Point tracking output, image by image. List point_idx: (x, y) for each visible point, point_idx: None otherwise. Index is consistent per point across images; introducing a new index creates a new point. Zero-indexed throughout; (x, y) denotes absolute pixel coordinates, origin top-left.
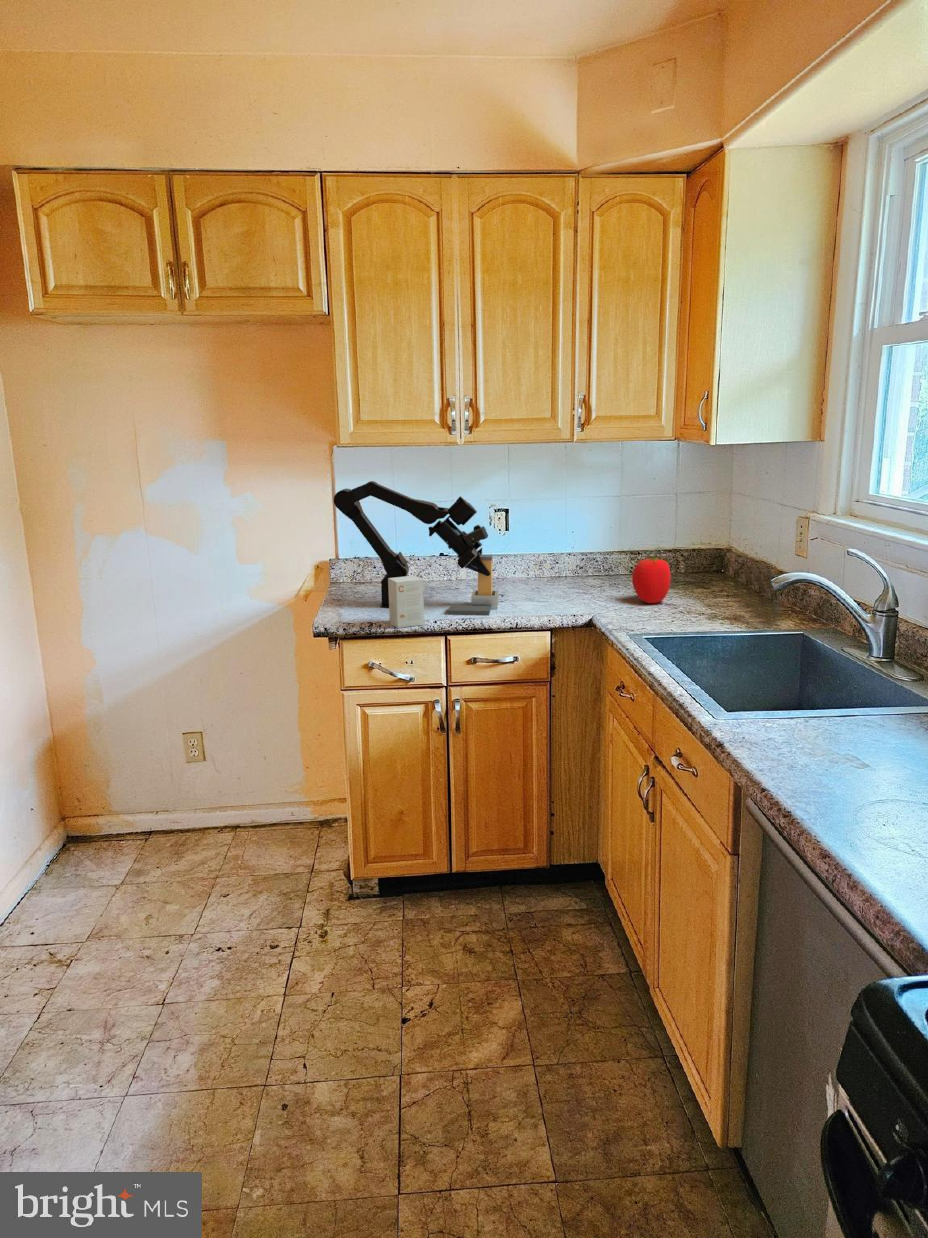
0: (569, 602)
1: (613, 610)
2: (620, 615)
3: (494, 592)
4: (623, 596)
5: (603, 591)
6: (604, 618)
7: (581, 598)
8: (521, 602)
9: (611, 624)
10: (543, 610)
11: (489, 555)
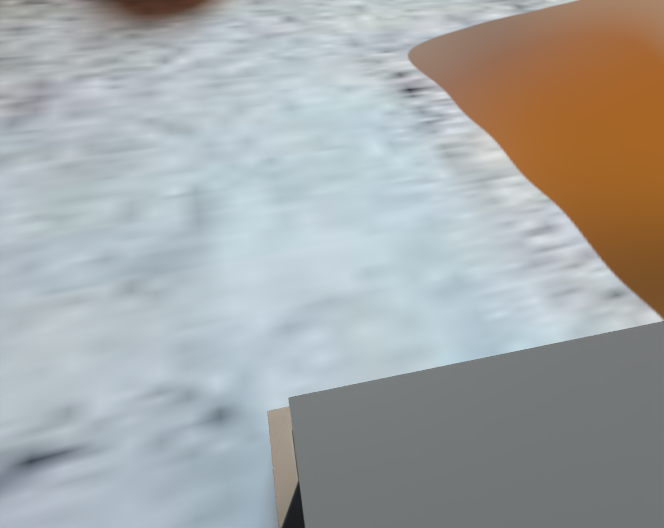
0: (206, 123)
1: (303, 22)
2: (360, 8)
3: (293, 442)
4: (101, 16)
5: (10, 59)
6: (411, 30)
7: (131, 100)
8: (231, 296)
9: (471, 15)
10: (371, 180)
11: (522, 487)
